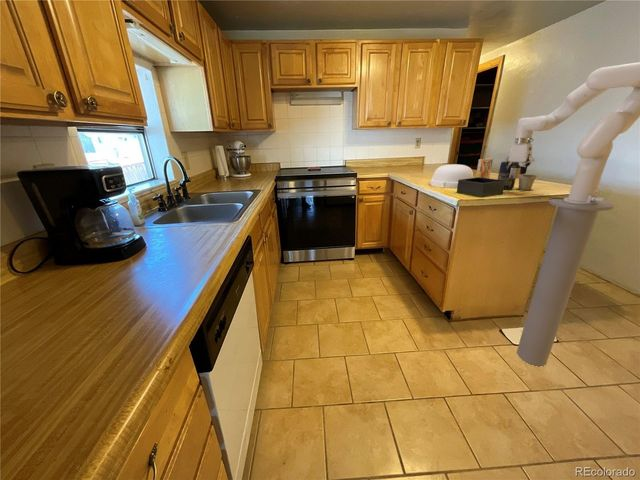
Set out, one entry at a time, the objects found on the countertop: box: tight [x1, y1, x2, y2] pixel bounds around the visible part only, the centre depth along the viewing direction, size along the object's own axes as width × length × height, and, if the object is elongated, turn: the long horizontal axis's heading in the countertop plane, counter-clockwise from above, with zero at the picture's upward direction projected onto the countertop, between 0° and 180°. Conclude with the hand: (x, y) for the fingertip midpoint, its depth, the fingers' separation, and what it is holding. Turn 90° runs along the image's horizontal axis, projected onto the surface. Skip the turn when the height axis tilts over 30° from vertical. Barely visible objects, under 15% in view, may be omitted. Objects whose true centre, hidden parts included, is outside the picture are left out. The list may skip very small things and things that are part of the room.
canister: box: [497, 160, 520, 190], centre depth 169 cm, size 10×10×18 cm
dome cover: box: [429, 163, 474, 189], centre depth 192 cm, size 32×30×14 cm
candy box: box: [475, 158, 494, 179], centre depth 208 cm, size 9×4×15 cm, turn 91°
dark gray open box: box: [456, 177, 505, 198], centre depth 162 cm, size 18×18×8 cm
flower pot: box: [518, 174, 538, 191], centre depth 166 cm, size 9×9×9 cm
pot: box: [509, 164, 524, 179], centre depth 156 cm, size 7×7×7 cm
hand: (516, 173), depth 156 cm, fingers closed on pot, 6 cm apart
